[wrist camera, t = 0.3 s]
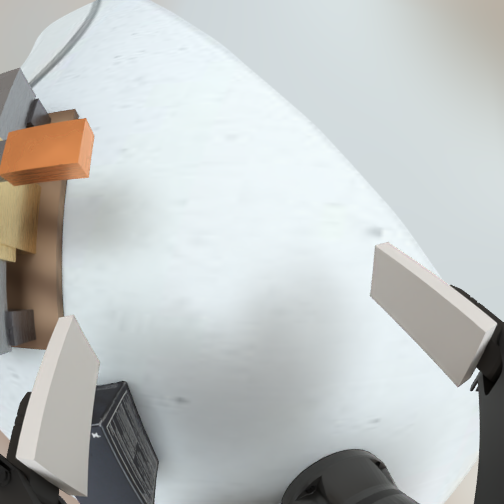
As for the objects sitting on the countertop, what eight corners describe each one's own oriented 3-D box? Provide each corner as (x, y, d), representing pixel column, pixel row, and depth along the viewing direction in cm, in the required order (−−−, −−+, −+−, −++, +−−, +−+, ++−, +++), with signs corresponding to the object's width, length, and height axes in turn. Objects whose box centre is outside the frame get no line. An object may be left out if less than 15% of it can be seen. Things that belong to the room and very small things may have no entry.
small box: (72, 387, 24) (30, 425, 14) (126, 379, 25) (102, 420, 15) (108, 468, 23) (90, 524, 13) (160, 462, 25) (158, 522, 15)
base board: (66, 348, 24) (61, 350, 23) (-15, 340, 21) (-21, 342, 20) (78, 115, 27) (75, 108, 26) (2, 130, 24) (-3, 125, 23)
